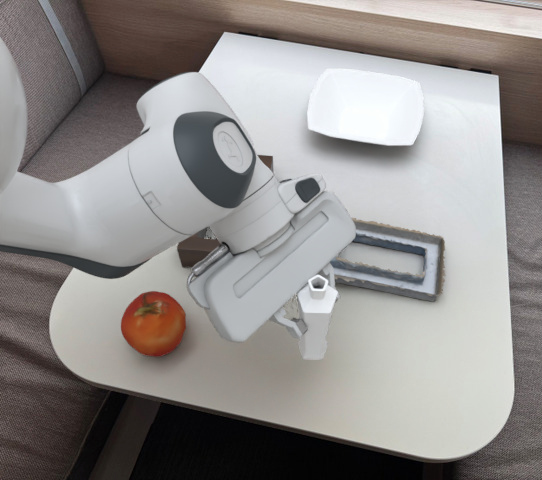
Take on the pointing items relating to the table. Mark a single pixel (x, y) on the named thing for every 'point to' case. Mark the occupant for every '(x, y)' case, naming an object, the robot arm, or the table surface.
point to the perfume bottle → (315, 316)
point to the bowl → (366, 107)
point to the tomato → (154, 323)
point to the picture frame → (394, 280)
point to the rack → (197, 243)
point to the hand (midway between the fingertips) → (317, 317)
